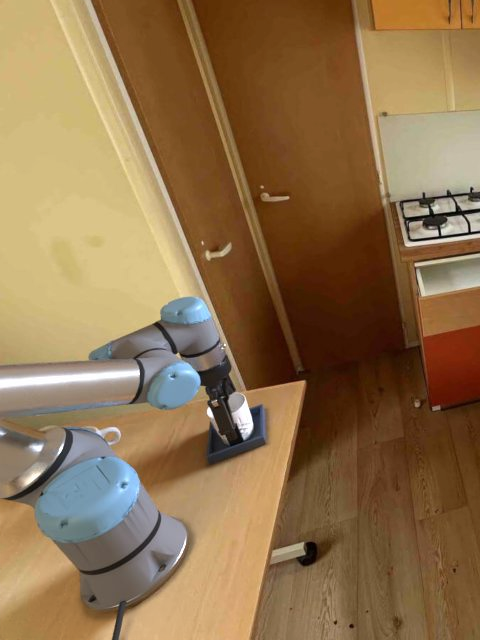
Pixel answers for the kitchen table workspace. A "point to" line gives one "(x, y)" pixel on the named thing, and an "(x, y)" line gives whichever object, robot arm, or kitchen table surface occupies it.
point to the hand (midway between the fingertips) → (238, 432)
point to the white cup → (237, 416)
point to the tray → (258, 438)
